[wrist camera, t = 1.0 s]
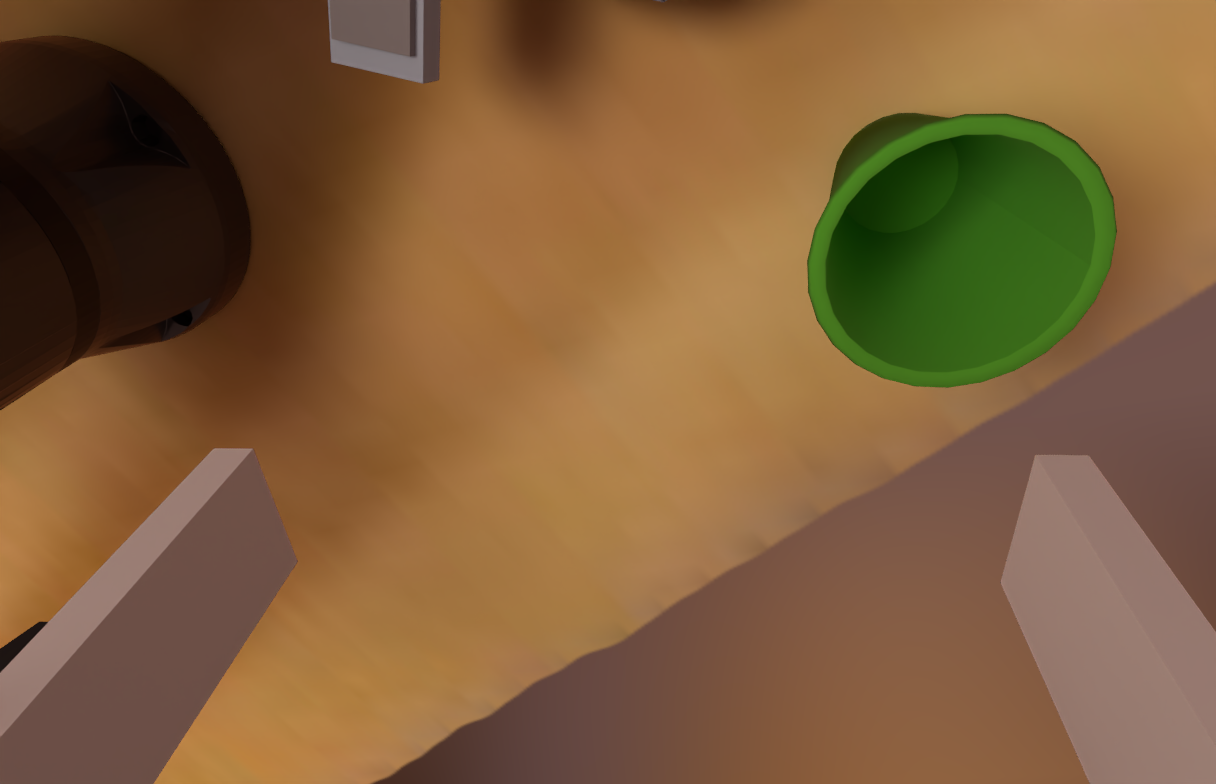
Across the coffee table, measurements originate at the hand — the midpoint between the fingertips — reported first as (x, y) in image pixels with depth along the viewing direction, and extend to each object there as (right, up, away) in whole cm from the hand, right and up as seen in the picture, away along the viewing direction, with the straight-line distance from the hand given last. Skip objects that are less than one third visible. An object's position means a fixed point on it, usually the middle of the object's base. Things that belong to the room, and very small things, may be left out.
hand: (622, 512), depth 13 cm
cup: (+12, +12, +20) cm, 26 cm away
